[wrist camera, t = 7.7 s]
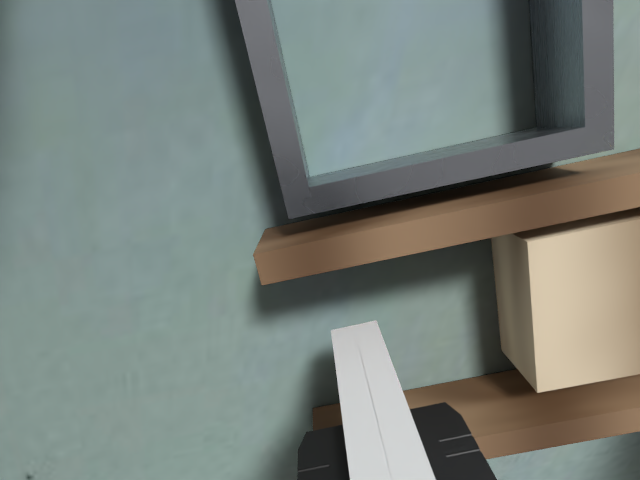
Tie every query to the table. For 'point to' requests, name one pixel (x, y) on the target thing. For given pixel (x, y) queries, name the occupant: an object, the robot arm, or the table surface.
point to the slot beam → (462, 227)
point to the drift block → (571, 300)
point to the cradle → (463, 159)
